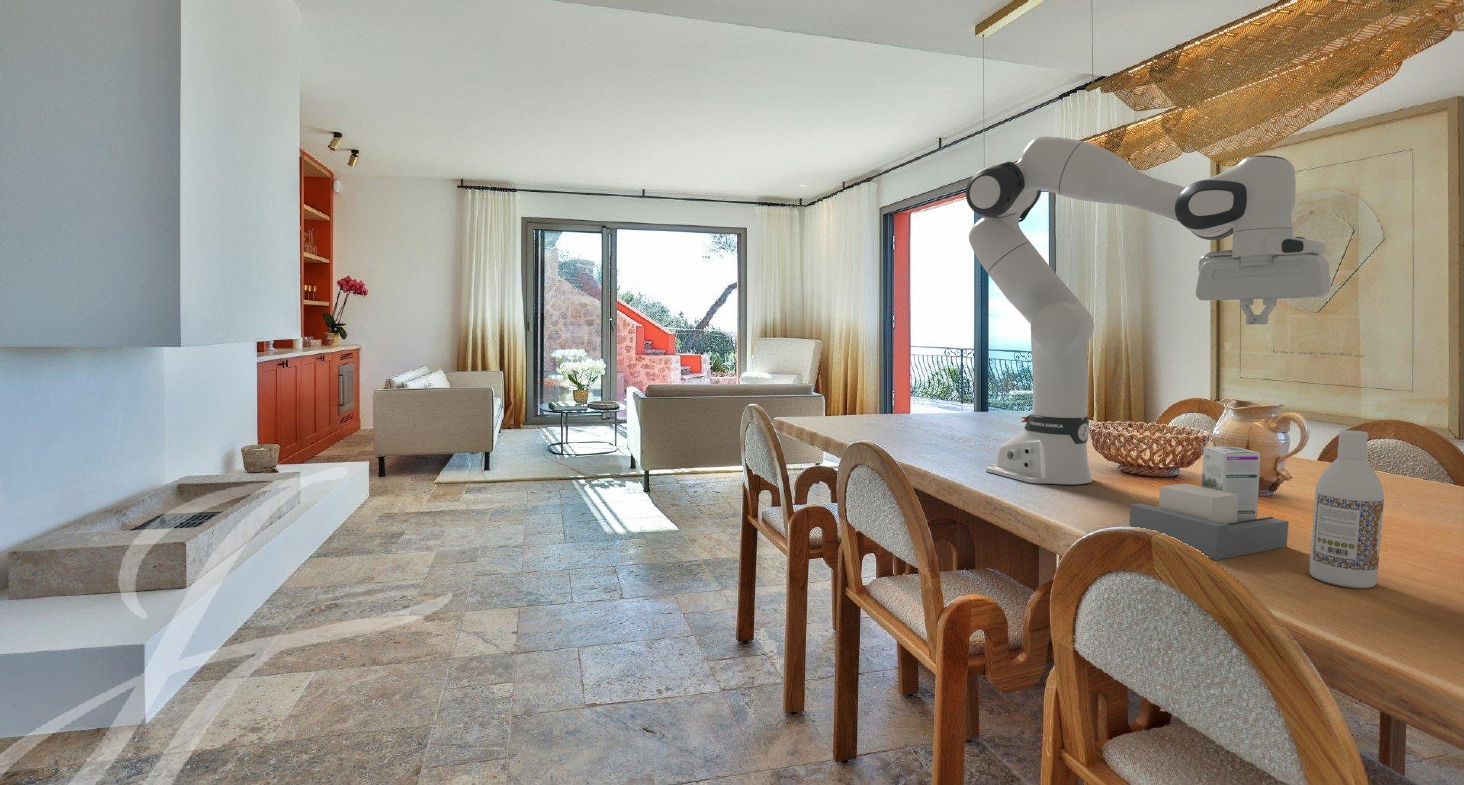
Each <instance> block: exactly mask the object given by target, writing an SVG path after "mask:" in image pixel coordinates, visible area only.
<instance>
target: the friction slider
mask: <svg viewBox="0 0 1464 785" xmlns="http://www.w3.org/2000/svg"><path fill="white" fill-rule="evenodd" d="M1238 496H1239V494H1235V493H1230V492H1225V491H1220V490H1215V489H1210V488H1205V487H1202V486H1200V485H1194V484H1189V483H1179V484H1169V485H1163V486H1162V485H1161V486H1159V500H1158V507H1159V508H1163V509H1167V510H1171V511H1175V512H1179V513H1183V514H1188V515H1192V516H1196V517H1200V518H1204V519H1208V520H1212V521H1217V522H1221V523H1225V524H1229V523H1235V522H1237V511H1238Z"/></svg>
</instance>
